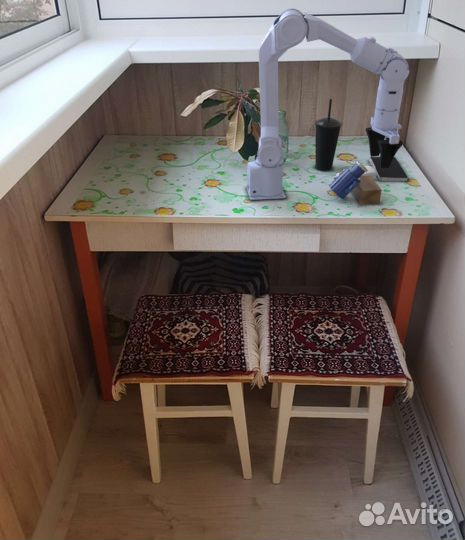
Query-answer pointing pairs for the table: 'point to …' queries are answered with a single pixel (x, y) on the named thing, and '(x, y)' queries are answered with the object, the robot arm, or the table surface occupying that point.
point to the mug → (348, 180)
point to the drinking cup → (326, 140)
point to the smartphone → (388, 170)
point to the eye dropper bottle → (370, 172)
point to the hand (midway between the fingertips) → (379, 161)
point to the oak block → (367, 191)
